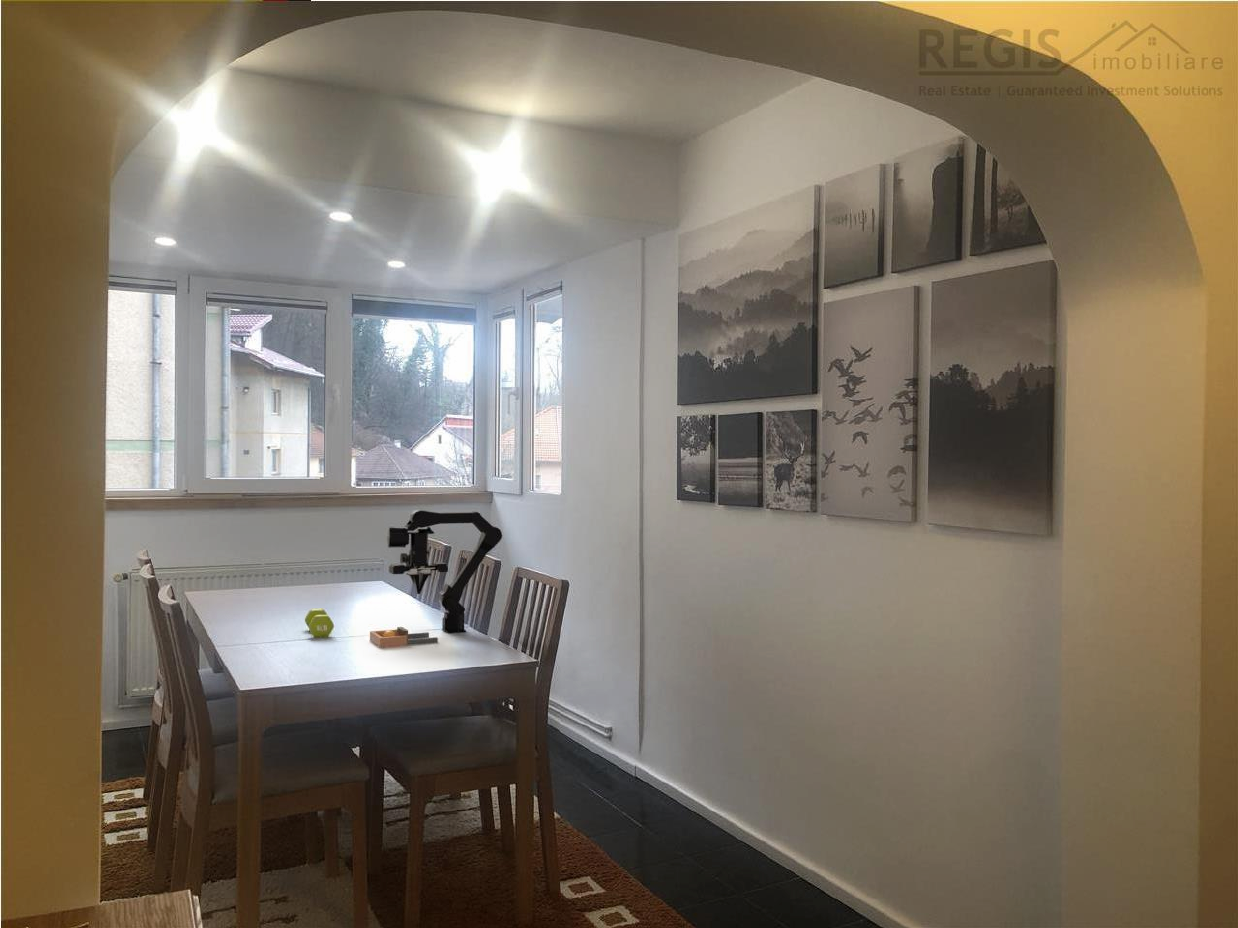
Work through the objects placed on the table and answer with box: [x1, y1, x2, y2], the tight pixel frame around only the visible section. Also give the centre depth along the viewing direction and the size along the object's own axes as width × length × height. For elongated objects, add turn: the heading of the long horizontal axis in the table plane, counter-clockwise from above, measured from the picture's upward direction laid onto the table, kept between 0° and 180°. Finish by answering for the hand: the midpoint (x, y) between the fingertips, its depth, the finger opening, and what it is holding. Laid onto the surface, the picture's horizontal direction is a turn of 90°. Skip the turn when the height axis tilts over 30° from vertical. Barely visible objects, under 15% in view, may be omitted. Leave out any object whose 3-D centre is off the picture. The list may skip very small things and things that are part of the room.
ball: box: [383, 629, 396, 637], centre depth 298 cm, size 4×4×4 cm
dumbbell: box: [304, 608, 335, 639], centre depth 311 cm, size 16×8×7 cm, turn 23°
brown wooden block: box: [396, 626, 409, 640], centre depth 300 cm, size 2×7×4 cm, turn 29°
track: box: [407, 631, 439, 646], centre depth 302 cm, size 10×10×2 cm
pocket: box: [369, 628, 408, 649], centre depth 298 cm, size 8×12×3 cm
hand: (418, 593), depth 315 cm, fingers closed
